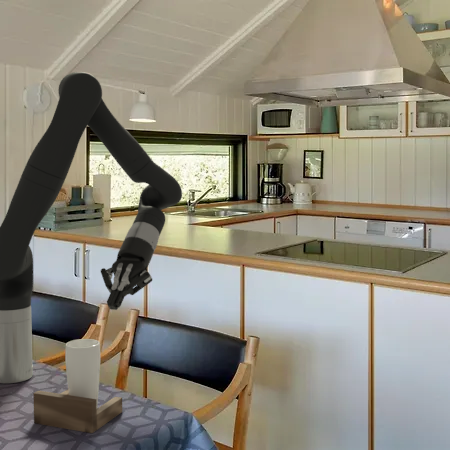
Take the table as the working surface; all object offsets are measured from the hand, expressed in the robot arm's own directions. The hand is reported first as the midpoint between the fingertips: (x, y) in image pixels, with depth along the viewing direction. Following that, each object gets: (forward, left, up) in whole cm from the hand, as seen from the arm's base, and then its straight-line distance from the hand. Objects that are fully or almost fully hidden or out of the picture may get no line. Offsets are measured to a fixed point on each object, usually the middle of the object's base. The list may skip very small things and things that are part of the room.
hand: (112, 307), depth 133 cm
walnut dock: (-4, -12, -19) cm, 23 cm away
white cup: (-4, -12, -20) cm, 23 cm away
